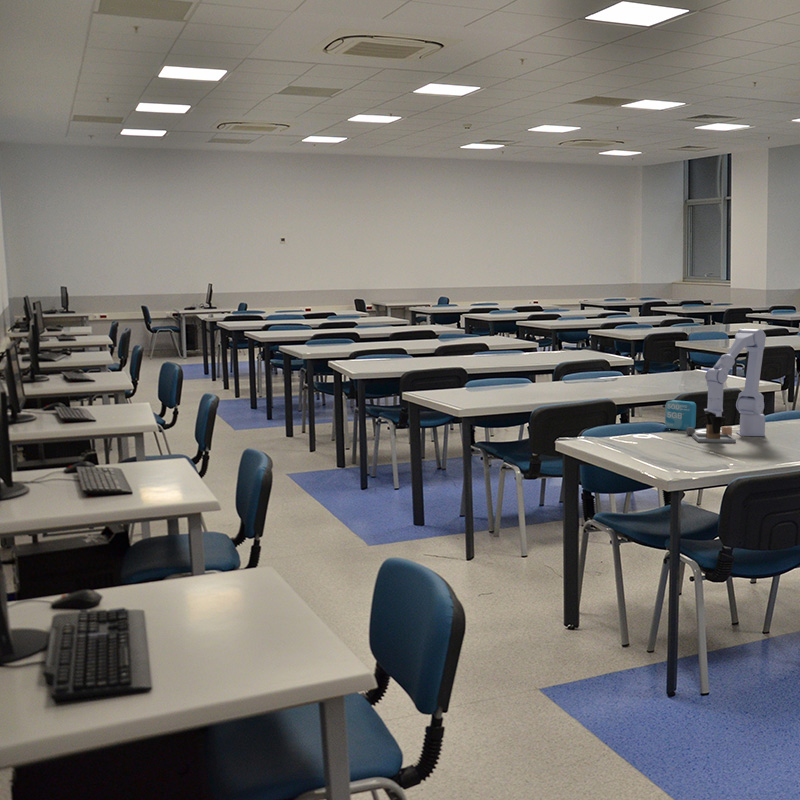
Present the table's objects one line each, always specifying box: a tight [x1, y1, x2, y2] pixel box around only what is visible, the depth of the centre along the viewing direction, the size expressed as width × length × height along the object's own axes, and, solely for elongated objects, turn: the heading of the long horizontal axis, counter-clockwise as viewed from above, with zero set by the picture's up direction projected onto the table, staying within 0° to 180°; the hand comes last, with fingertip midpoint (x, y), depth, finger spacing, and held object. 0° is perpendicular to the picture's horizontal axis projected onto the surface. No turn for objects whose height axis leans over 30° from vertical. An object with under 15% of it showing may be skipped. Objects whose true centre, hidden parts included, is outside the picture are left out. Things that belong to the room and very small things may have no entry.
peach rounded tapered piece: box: [720, 425, 733, 437], centre depth 342 cm, size 4×4×4 cm
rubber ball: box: [685, 427, 696, 436], centre depth 346 cm, size 4×4×4 cm
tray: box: [692, 433, 737, 444], centre depth 334 cm, size 14×12×2 cm
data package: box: [664, 399, 697, 431], centre depth 362 cm, size 12×4×12 cm, turn 46°
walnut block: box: [705, 423, 722, 439], centre depth 334 cm, size 4×4×6 cm
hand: (714, 431), depth 334 cm, fingers open, 7 cm apart
